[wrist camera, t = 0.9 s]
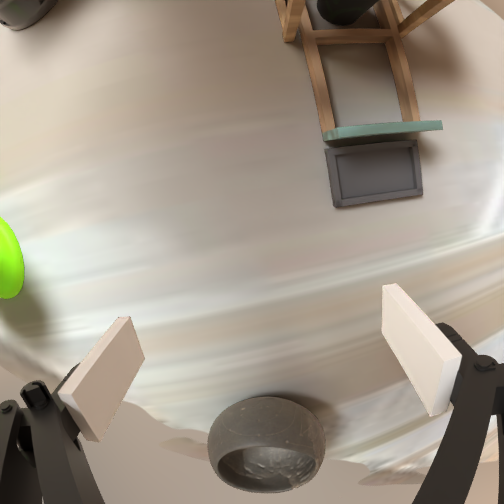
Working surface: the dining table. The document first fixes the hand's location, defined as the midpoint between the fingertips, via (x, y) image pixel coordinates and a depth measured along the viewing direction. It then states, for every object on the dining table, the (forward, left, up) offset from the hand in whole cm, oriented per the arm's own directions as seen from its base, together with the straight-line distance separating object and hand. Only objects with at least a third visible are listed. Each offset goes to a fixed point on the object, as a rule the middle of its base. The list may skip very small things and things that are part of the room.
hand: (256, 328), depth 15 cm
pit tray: (-4, +15, -25) cm, 29 cm away
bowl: (+32, -5, -25) cm, 41 cm away
